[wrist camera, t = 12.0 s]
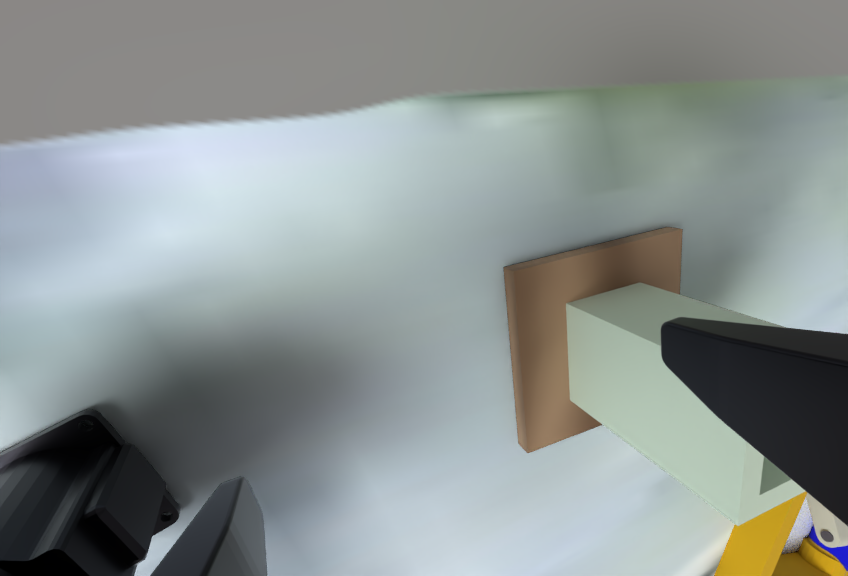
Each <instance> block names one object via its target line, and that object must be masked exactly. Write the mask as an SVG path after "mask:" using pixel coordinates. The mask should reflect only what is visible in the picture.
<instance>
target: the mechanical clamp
mask: <svg viewBox="0 0 848 576" xmlns="http://www.w3.org/2000/svg"><path fill="white" fill-rule="evenodd" d="M805 497H806V498H807V502H808V506H809V509H810V513H811V517H812V521H813V524H814V525H813V527H812V530H811V532H810V534H809V536H808V538H804V539H803V541H802V544H801V546H800V548H799V550H798V552H794V553H787V554H781V553H782V550H783V548H784V546H785V543H786V541H787V539H788V536H789V534H790V532H791V529H792V527H793V525H794V523H795V520H796V518H797V516H798V513H799V511H800V509H801V506H802V504H803V502H804V499H805ZM714 576H848V526H847V525H845V524H844V523H843V522H842V521H841V520H840V519H838V518H837V517H836V516H835V515H834V514H832V513H831V512H830V511H829V510H828V509H826V508H825V507H824V506H823V505H822V504H820V503H819V502H818V501H817V500H816V499H814V498H813V497H812V496H811V495H810V494H808V493H807V492H806V491H805V492H803V493H801V494H799V495H797V496H795V497H793V498H791V499H789V500H788V501H786V502H784V503H782V504H780V505H778V506H776V507H774V508H772V509H770V510H768V511H766V512H764V513H762V514H760V515H759V516H757V517H755V518H753V519H751V520H749V521H747V522H745V523H743V524H741V525H739V526H737V525H734V528H733V530H732V533H731V535H730V538H729V540H728V543H727V545H726V548H725V550H724V553H723V555H722V558H721V560H720V563H719V565H718V568H717V570H716V573H715V575H714Z"/></svg>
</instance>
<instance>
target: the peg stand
mask: <svg viewBox="0 0 848 576" xmlns="http://www.w3.org/2000/svg"><path fill="white" fill-rule="evenodd" d="M681 251H682V229H678V228H672V227H665V228H661V229H657V230H653V231H649V232H645V233H641V234H637V235H633V236H629V237H625V238H621V239H616V240H612V241H608V242H604V243H600V244H596V245H592V246H588V247H584V248H580V249H576V250H572V251H568V252H563V253H559V254H555V255H551V256H547V257H543V258H539V259H535V260H531V261H527V262H523V263H519V264H515V265H510V266H506V267H504V279H505V290H506V302H507V314H508V325H509V337H510V349H511V361H512V372H513V384H514V396H515V408H516V419H517V431H518V443H519V445H520V446H521V447H522V448H523V449H524V450H525V451H526V452H527V453H530V452H533V451H535V450H538V449H540V448H543V447H546V446H548V445H551V444H553V443H556V442H559V441H561V440H564V439H566V438H569V437H571V436H574V435H577V434H579V433H582V432H584V431H587V430H590V429H592V428H595V427H597V426H600V425H602V424H601V423H600V422H598V421H597V420H596V419H594V418H593V417H592V416H590V415H589V414H588V413H586V412H585V411H584V410H582V409H581V408H580V407H578V406H577V405H576V404H574V403H573V402H572V401H570V390H569V366H568V341H567V317H566V303H569V302H573V301H576V300H580V299H583V298H587V297H590V296H594V295H597V294H601V293H604V292H608V291H611V290H615V289H618V288H622V287H625V286H629V285H633V284H636V283H644V284H647V285H650V286H653V287H657V288H660V289H663V290H666V291H670V292H673V293H676V294H679V295H680V275H681Z"/></svg>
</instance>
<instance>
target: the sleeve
mask: <svg viewBox="0 0 848 576" xmlns="http://www.w3.org/2000/svg"><path fill="white" fill-rule="evenodd" d="M566 317H567V341H568V366H569V390H570V401H572V402H573V403H574V404H576V405H577V406H578V407H580V408H581V409H582V410H584V411H585V412H586V413H588V414H589V415H590V416H592V417H593V418H594V419H596V420H597V421H598V422H600V423H601V424H602V425H604V426H605V427H606V428H608V429H609V430H610V431H612V432H613V433H614V434H616V435H617V436H618V437H620V438H621V439H622V440H624V441H625V442H626V443H628V444H629V445H630V446H632V447H633V448H634V449H636V450H637V451H638V452H640V453H641V454H642V455H644V456H645V457H646V458H648V459H649V460H650V461H652V462H653V463H654V464H656V465H657V466H658V467H660V468H661V469H662V470H664V471H665V472H666V473H668V474H669V475H670V476H672V477H673V478H674V479H676V480H677V481H678V482H680V483H681V484H682V485H684V486H685V487H686V488H688V489H689V490H690V491H692V492H693V493H694V494H695V495H697V496H698V497H699V498H701V499H702V500H703V501H705V502H706V503H707V504H709V505H710V506H711V507H713V508H714V509H715V510H717V511H718V512H719V513H721V514H722V515H723V516H725V517H726V518H727V519H729V520H730V521H731V522H733V523H734V524H735V525H737V526H739V525H741V524H743V523H745V522H747V521H749V520H751V519H753V518H755V517H757V516H759V515H760V514H762V513H764V512H766V511H768V510H770V509H772V508H774V507H776V506H778V505H780V504H782V503H784V502H786V501H788V500H789V499H791V498H793V497H795V496H797V495H799V494H801V493H803V492H805V490H804V489H802V488H801V487H800V486H799V485H798V484H796V483H795V482H794V481H793V480H792V479H790V478H789V477H788V476H787V475H786V474H785V473H783V472H782V471H781V470H780V469H779V468H777V467H776V466H775V465H774V464H773V463H771V462H770V461H769V460H768V459H767V458H765V457H764V456H763V455H762V454H761V453H759V452H758V451H757V450H756V449H755V448H753V447H752V446H751V445H750V444H749V443H747V442H746V441H745V440H744V439H743V438H741V437H740V436H739V435H738V434H737V433H736V432H734V431H733V430H732V429H731V428H730V427H728V426H727V425H726V424H725V423H724V422H723V421H721V420H720V419H719V418H718V417H717V416H716V415H715V414H714V413H713V412H712V411H711V410H710V409H709V408H708V407H707V406H706V405H705V404H704V403H703V402H702V401H701V400H700V399H699V398H698V397H697V396H696V395H695V394H694V393H693V392H692V391H691V390H690V389H689V388H688V387H687V386H686V385H685V384H684V383H683V382H682V381H681V380H680V379H679V378H678V377H677V376H676V375H675V374H674V373H673V372H672V371H671V370H670V369H669V368H668V367H667V366H666V365H665V364H664V362H663V360H662V357H661V326H662V324H663V323H664V322H666V321H669V320H672V319H675V318H677V317H688V318H697V319H707V320H717V321H726V322H736V323H745V324H755V325H764V326H774V327H783V326H779V325H776V324H773V323H770V322H766V321H763V320H760V319H757V318H753V317H750V316H747V315H744V314H741V313H737V312H734V311H731V310H728V309H724V308H721V307H718V306H715V305H712V304H708V303H705V302H702V301H699V300H695V299H692V298H689V297H686V296H682V295H679V294H676V293H673V292H670V291H666V290H663V289H660V288H657V287H653V286H650V285H647V284H644V283H636V284H633V285H629V286H625V287H622V288H618V289H615V290H611V291H608V292H604V293H601V294H597V295H594V296H590V297H587V298H583V299H580V300H576V301H573V302H569V303H566ZM783 328H786V327H783Z"/></svg>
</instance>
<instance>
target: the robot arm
mask: <svg viewBox="0 0 848 576" xmlns="http://www.w3.org/2000/svg"><path fill="white" fill-rule="evenodd" d="M661 357H662V360H663V362H664V364H665V365H666V366H667V367H668V368H669V369H670V370H671V371H672V372H673V373H674V374H675V375H676V376H677V377H678V378H679V379H680V380H681V381H682V382H683V383H684V384H685V385H686V386H687V387H688V388H689V389H690V390H691V391H692V392H693V393H694V394H695V395H696V396H697V397H698V398H699V399H700V400H701V401H702V402H703V403H704V404H705V405H706V406H707V407H708V408H709V409H710V410H711V411H712V412H713V413H714V414H715V415H716V416H717V417H718V418H719V419H720V420H721V421H723V422H724V423H725V424H726V425H727V426H728V427H730V428H731V429H732V430H733V431H734V432H736V433H737V434H738V435H739V436H740V437H741V438H743V439H744V440H745V441H746V442H747V443H749V444H750V445H751V446H752V447H753V448H755V449H756V450H757V451H758V452H759V453H761V454H762V455H763V456H764V457H765V458H767V459H768V460H769V461H770V462H771V463H773V464H774V465H775V466H776V467H777V468H779V469H780V470H781V471H782V472H783V473H785V474H786V475H787V476H788V477H789V478H790V479H792V480H793V481H794V482H795V483H796V484H798V485H799V486H800V487H801V488H802V489H804V490H805V491H806V492H807V493H808V494H810V495H811V496H812V497H813V498H814V499H816V500H817V501H818V502H819V503H820V504H822V505H823V506H824V507H825V508H826V509H828V510H829V511H830V512H831V513H832V514H834V515H835V516H836V517H837V518H838V519H840V520H841V521H842V522H843V523H844V524H845V525H847V526H848V334H841V333H831V332H822V331H812V330H802V329H793V328H783V327H774V326H764V325H755V324H745V323H736V322H726V321H717V320H707V319H697V318H688V317H677V318H675V319H672V320H669V321H666V322H664V323H663V324H662V326H661ZM84 420H89V421H91V422H92V423H93V426H85V425H83V424H82V421H84ZM165 488H166V483H165V481H164V480H163V479H162V478H161V477H160V475H159V474H158V473H157V472H156V471H155V470H154V468H153V467H152V466H151V465H150V464H149V463H148V461H147V460H146V459H145V458H144V457H143V455H142V454H141V453H140V452H139V451H138V450H137V448H136V447H135V446H134V445H132V444H129V443H126V442H125V441H124V440H123V439H122V438H121V437H120V435H119V434H118V433H117V432H116V431H115V430H114V428H113V427H112V426H111V425H110V424H109V423H108V421H107V420H106V419H105V418H104V417H103V416H102V414H100V413H99V412H98V411H95V410H84V411H81V412H79V413H77V414H75V415H73V416H71V417H69V418H67V419H66V420H64V421H62V422H60V423H58V424H56V425H54V426H52V427H50V428H48V429H46V430H44V431H42V432H40V433H38V434H36V435H34V436H32V437H30V438H28V439H26V440H24V441H23V442H21V443H19V444H17V445H15V446H13V447H11V448H9V449H7V450H5V451H3V452H1V453H0V576H134V574H135V570H136V567H137V564H138V563H140V562H142V561H143V560H145V558H146V556H147V553H148V549H149V546H150V542H151V538H152V536H153V535H155V534H157V533H159V532H160V531H162V530H164V529H165V528H167V527H169V526H171V525H172V524H174V523H175V522H176V521H177V520H178V518H179V514H180V506H179V504H178V503H177V502H176V501H175V499H174V498H173V497H172V496H171V495H170V494H169V492H168V491H167V490H166V489H165ZM164 512H171V513H172V514H171V515H164V514H162V513H164ZM150 576H267V563H266V548H265V533H264V520H263V514H262V511H261V508H260V506H259V503H258V501H257V499H256V497H255V495H254V493H253V491H252V489H251V486H250V484H249V482H248V480H247V479H246V478H245V477H242V476H240V477H237V478H234V479H232V480H229V481H226V482H224V483H222V484H220V485H219V486H218V488H217V489H216V490H215V491H214V493H213V494H212V495H211V497H210V498H209V499H208V501H207V502H206V503H205V505H204V506H203V507H202V509H201V510H200V511H199V512H198V514H197V515H196V516H195V518H194V519H193V520H192V522H191V523H190V524H189V526H188V527H187V528H186V529H185V531H184V532H183V533H182V535H181V536H180V537H179V539H178V540H177V541H176V543H175V544H174V545H173V547H172V548H171V549H170V550H169V552H168V553H167V554H166V556H165V557H164V558H163V560H162V561H161V562H160V564H159V565H158V566H157V568H156V569H155V570H154V571H153V573H152V574H151V575H150Z"/></svg>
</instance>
